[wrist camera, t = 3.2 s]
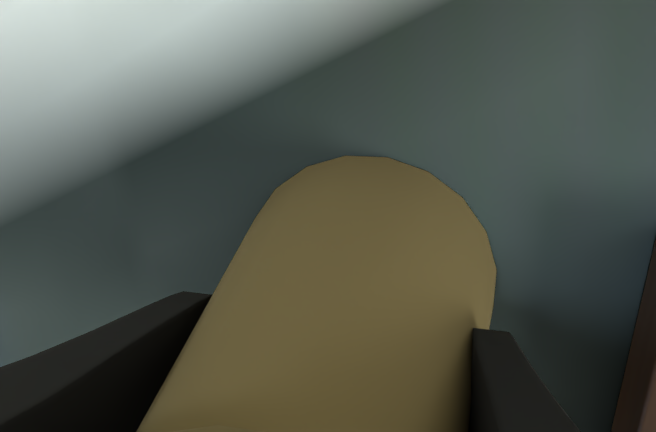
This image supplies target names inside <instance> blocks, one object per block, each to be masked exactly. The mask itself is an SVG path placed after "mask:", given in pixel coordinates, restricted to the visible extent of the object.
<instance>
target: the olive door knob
mask: <svg viewBox="0 0 656 432" xmlns="http://www.w3.org/2000/svg"><path fill="white" fill-rule="evenodd" d="M496 271H497V269H496V266H495V262H494V258H493V255H492V251H491V247H490V244H489V240H488V236H487V233H486V231H485V229H484V228H483V226H482V225H481V224H480V222H479V221H478V219H477V218H476V216H475V215H474V213H473V212H472V211H471V209H470V208H469V206H468V205H467V203H466V202H465V200H464V199H463V198H462V197H461V196H460V195H458V194H457V193H456V192H454V191H453V190H452V189H450V188H449V187H448V186H446V185H445V184H444V183H442V182H441V181H440V180H438V179H437V178H436V177H434V176H433V175H432V174H430V173H429V172H427V171H425V170H422V169H419V168H416V167H413V166H411V165H408V164H405V163H402V162H399V161H396V160H394V159H391V158H388V157H366V156H343V157H339V158H336V159H332V160H329V161H325V162H322V163H318V164H315V165H311V166H308V167H306V168H304V169H303V170H301V171H300V172H299V173H297V174H296V175H294V176H293V177H291V178H290V179H289V180H287V181H286V182H284V183H283V184H282V185H280V186H279V187H277V188H276V189H275V190H274V192H273V193H272V195H271V196H270V198H269V199H268V200H267V202H266V203H265V205H264V206H263V208H262V209H261V211H260V212H259V213H258V215H257V216H256V218H255V219H254V221H253V223H252V225H251V227H250V228H249V230H248V232H247V234H246V236H245V237H244V239H243V241H242V243H241V245H240V246H239V248H238V250H237V252H236V254H235V255H234V257H233V259H232V261H231V263H230V264H229V266H228V268H227V270H226V272H225V273H224V275H223V277H222V279H221V280H220V282H219V284H218V286H217V288H216V289H215V291H214V293H213V295H212V297H211V298H210V300H209V302H208V304H207V306H206V307H205V309H204V311H203V313H202V315H201V316H200V318H199V320H198V322H197V324H196V325H195V327H194V329H193V331H192V333H191V334H190V336H189V338H188V340H187V342H186V343H185V345H184V347H183V349H182V350H181V352H180V354H179V356H178V358H177V359H176V361H175V363H174V365H173V367H172V368H171V370H170V372H169V374H168V376H167V377H166V379H165V381H164V383H163V385H162V386H161V388H160V390H159V392H158V394H157V395H156V397H155V399H154V401H153V403H152V404H151V406H150V408H149V410H148V411H147V413H146V415H145V417H144V419H143V420H142V422H141V424H140V426H139V428H138V429H137V431H136V432H468V431H469V420H470V409H471V365H472V333H473V328H479V329H487V330H489V327H490V321H491V316H492V311H493V304H494V293H495V282H496Z"/></svg>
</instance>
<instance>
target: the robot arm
mask: <svg viewBox="0 0 656 432" xmlns="http://www.w3.org/2000/svg"><path fill="white" fill-rule="evenodd" d="M211 297H212V295H208V294H200V293H192V292H184V291H183V292H180V293H177V294H174V295H171V296H169V297H166V298H164V299H161V300H159V301H157V302H154V303H152V304H150V305H148V306H146V307H143V308H141V309H139V310H137V311H134V312H132V313H130V314H128V315H126V316H124V317H121V318H119V319H117V320H115V321H113V322H110V323H108V324H106V325H104V326H102V327H99V328H97V329H95V330H93V331H90V332H88V333H86V334H83V335H81V336H79V337H76V338H74V339H71V340H69V341H67V342H64V343H62V344H59V345H57V346H55V347H52V348H50V349H47V350H45V351H42V352H40V353H38V354H35V355H33V356H30V357H27V358H25V359H22V360H19V361H17V362H14V363H11V364H8V365H6V366H3V367H0V432H136V431H137V429H138V428H139V426H140V424H141V422H142V420H143V419H144V417H145V415H146V413H147V411H148V410H149V408H150V406H151V404H152V403H153V401H154V399H155V397H156V395H157V394H158V392H159V390H160V388H161V386H162V385H163V383H164V381H165V379H166V377H167V376H168V374H169V372H170V370H171V368H172V367H173V365H174V363H175V361H176V359H177V358H178V356H179V354H180V352H181V350H182V349H183V347H184V345H185V343H186V342H187V340H188V338H189V336H190V334H191V333H192V331H193V329H194V327H195V325H196V324H197V322H198V320H199V318H200V316H201V315H202V313H203V311H204V309H205V307H206V306H207V304H208V302H209V300H210V298H211ZM468 432H581V431H580V430H579V429H578V427H577V426H576V425H575V424H574V422H573V421H572V420H571V419H570V417H569V416H568V415H567V414H566V412H565V411H564V410H563V408H562V407H561V406H560V404H559V403H558V402H557V400H556V399H555V398H554V396H553V395H552V394H551V392H550V391H549V390H548V388H547V387H546V386H545V384H544V383H543V381H542V380H541V379H540V377H539V376H538V374H537V373H536V371H535V370H534V368H533V367H532V365H531V364H530V362H529V361H528V359H527V358H526V356H525V355H524V353H523V352H522V350H521V348H520V347H519V345H518V344H517V342H516V340H515V339H514V338H513V336H512V335H511V334H510V333H509V332H503V331H495V330H487V329H479V328H473V333H472V365H471V409H470V420H469V431H468Z"/></svg>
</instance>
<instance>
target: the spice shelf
mask: <svg viewBox="0 0 656 432" xmlns="http://www.w3.org/2000/svg"><path fill="white" fill-rule="evenodd" d="M611 432H656V240H655V245H654V249H653V253H652V257H651V262H650V266H649V270H648V275H647V279H646V283H645V288H644V292H643V296H642V300H641V305H640V309H639V313H638V318H637V322H636V326H635V331H634V335H633V339H632V343H631V348H630V352H629V356H628V361H627V365H626V369H625V373H624V378H623V382H622V386H621V391H620V395H619V399H618V404H617V408H616V412H615V416H614V421H613V425H612V429H611Z"/></svg>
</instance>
